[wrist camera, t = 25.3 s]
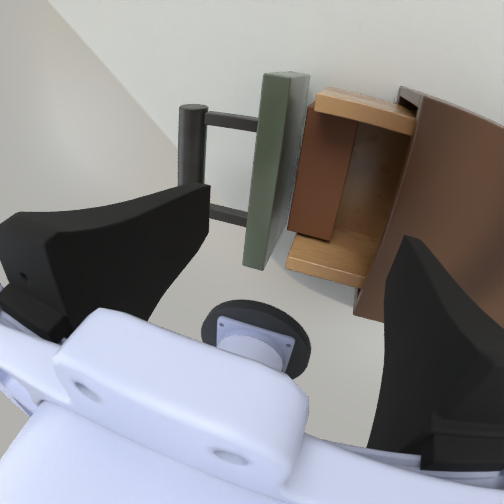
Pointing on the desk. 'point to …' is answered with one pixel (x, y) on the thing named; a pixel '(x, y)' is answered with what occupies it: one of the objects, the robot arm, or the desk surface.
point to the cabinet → (447, 204)
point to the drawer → (283, 170)
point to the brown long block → (321, 173)
